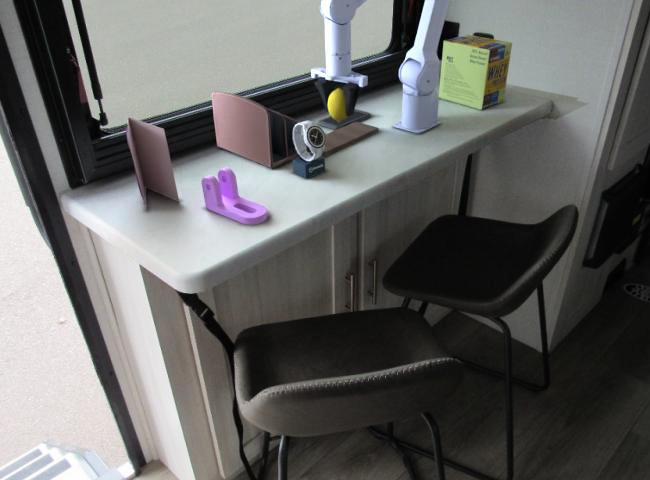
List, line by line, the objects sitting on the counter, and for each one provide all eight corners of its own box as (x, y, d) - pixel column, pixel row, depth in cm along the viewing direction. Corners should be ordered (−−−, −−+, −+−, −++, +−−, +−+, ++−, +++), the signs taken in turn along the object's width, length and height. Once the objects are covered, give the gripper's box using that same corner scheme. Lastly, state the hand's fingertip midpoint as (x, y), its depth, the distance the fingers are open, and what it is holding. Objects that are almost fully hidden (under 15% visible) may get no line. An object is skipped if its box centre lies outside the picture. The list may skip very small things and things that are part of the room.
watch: (311, 181, 121) (309, 131, 114) (288, 170, 126) (284, 121, 119) (331, 173, 124) (330, 124, 117) (307, 163, 129) (305, 114, 122)
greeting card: (141, 187, 121) (123, 117, 112) (176, 182, 122) (162, 112, 113) (141, 211, 112) (122, 137, 103) (179, 206, 113) (164, 132, 104)
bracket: (206, 208, 112) (200, 175, 108) (226, 197, 116) (221, 165, 112) (252, 227, 106) (248, 193, 102) (273, 215, 109) (269, 182, 105)
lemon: (348, 126, 134) (348, 92, 129) (326, 125, 135) (324, 91, 130) (353, 118, 138) (352, 84, 133) (330, 117, 139) (329, 84, 134)
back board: (356, 125, 147) (356, 121, 147) (378, 131, 143) (378, 127, 143) (302, 148, 136) (301, 144, 135) (325, 156, 132) (324, 152, 131)
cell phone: (372, 116, 152) (372, 113, 152) (336, 130, 144) (336, 127, 144) (351, 110, 156) (351, 107, 156) (316, 124, 148) (316, 121, 148)
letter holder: (271, 169, 126) (265, 106, 118) (216, 147, 137) (207, 87, 129) (303, 155, 132) (299, 94, 124) (248, 135, 143) (241, 77, 135)
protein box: (482, 110, 154) (490, 49, 145) (437, 98, 163) (442, 40, 154) (504, 101, 159) (513, 42, 150) (460, 90, 169) (466, 33, 159)
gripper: (301, 51, 128) (305, 112, 136) (355, 60, 121) (355, 123, 129) (320, 45, 132) (322, 103, 140) (373, 53, 125) (372, 114, 134)
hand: (339, 112), depth 135 cm, fingers closed on lemon, 5 cm apart
